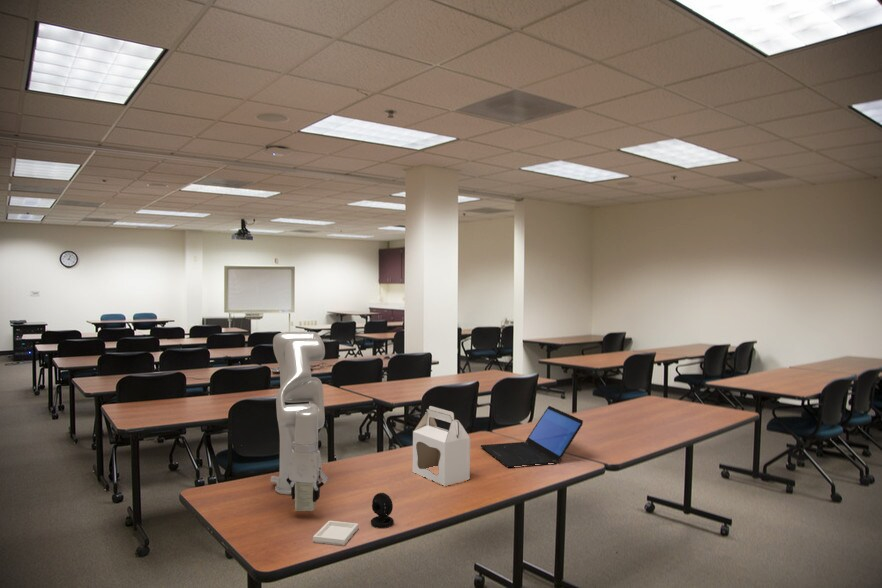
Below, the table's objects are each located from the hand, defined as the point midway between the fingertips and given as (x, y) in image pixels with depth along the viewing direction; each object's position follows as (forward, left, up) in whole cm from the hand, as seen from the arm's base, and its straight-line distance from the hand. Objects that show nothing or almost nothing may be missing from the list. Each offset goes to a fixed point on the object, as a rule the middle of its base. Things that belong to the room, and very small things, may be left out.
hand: (305, 498), depth 186 cm
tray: (+16, -11, -6) cm, 20 cm away
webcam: (+27, +1, -6) cm, 27 cm away
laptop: (+70, +91, -7) cm, 116 cm away
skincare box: (0, 0, -4) cm, 4 cm away
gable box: (+36, +51, -6) cm, 63 cm away
